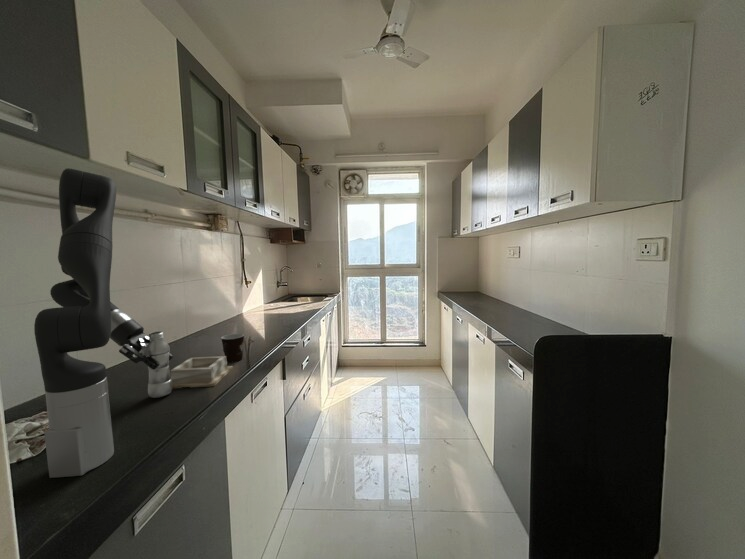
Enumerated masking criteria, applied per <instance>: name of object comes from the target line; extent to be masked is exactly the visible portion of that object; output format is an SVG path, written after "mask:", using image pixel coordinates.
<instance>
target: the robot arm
mask: <svg viewBox="0 0 745 559" xmlns="http://www.w3.org/2000/svg"><path fill="white" fill-rule="evenodd" d="M58 195H59V196H58V200H59V204H58V205H59V215H60V216H59V217H60V224H61V225H60V226H61V236H60V239H59V246H58V253H57V260H58V263H59V265H60V269H61V271H62V273H63V274H64V275H66V276H69V277H71V278H72V279H69V280H64V281H61V282H58V283H56V284H54V285H53V286H51V289H50V292H49V293H50V297H51V298H52V300H53V301H54V302H55V303H56V304H58V305H59V306H60V307H51V308H50V307H49V308H46V309H42V310H41V311H39V312H38V313H37V315H36V317H35V320H34V325H33V326H34V328H33V329H34V338H35V339H34V340H35V343H36V349H37V353H38V357H39V364H40V371H41V377H42V381H43V385H44V393H45V404H46V411H47V413H46V414H47V421H48V428H49V429H47V430H46V431H45V432H44V434H43V435H44V441H45V450H46V459H47V460H46V461H47V468H48V476H49V477H48V478H50V479H52V478H55V479H56V478H64V477H66V478H67V477H78V476H83V475H85V474H86V473H88V472H90V471H91V470H94V469H96V468H98V467H100V466H101V465H103V464H104V463H106V462H107V461H109V460H110V459H111V458H112V456H113V455H114V454H115V448H114V447H115V446H114V437H113V436H114V435H113V426H112V417H111V416H112V414H111V407H110V396H109V394H110V393H109V383H108V375H107V367H106V365H105V364H103V363H102V362H96V361H89V360H82V359H79V358H75V357H73V356H71V355H69V353H74V352H81V351H86V350H87V351H88V350H94V349H99V348H102V347H103V348H104V347H105V346H106V345H107V344H108V342H109V341H110V340H112V341H113V342H114V343H115V344H117V346H119V347H121V348H120V349H119V350H118V353H120V354H121V355H123V356H124V357H125V358H126V359H129V361H132V362H133V363H134V364H138V363H143V364H145V365H146V366H147V367H148V366H149V367H150V368H152V369H153V370H154V369H156V368H157V367H158V366H159V365H160V364H159V363H158V362H157V361H156V360H155V359H153V358H152V357H151V356H150V357H149V354H148V353H147V345H148V344H149V342H150V340H149V334H145V333H144V330H145V328H144V326H142V325H141V324H139V323H138V322H137V321H136V320H135V319H134V318H133V317H132V316H130V315H129V314H127V313H126V312H125V311H123V310H122V309H120V308H119V307H118V306H116V304H114V303H113V302H112V301H111V293H110V291H111V289H110V284H111V270H112V260H113V221H114V220H113V219H114V214H115V213H114V212H115V208H116V199H117V186H116V183H115V181H114V180H113V179H112V178H110V177H107V176H104V175H101V174H97V173H91V172H87V171H83V170H79V169H75V168H74V169H73V168H65V169H63V171H62V172H61V175H60V178H59V184H58ZM77 206H78V207H83V208H89V209H95V210H94V211H92V213H91V214H89V215H87V216H85V217H84V218H82V219H79V217H78V214H77ZM172 359H174V356H173V355H172V353H169V362H171V361H172Z"/></svg>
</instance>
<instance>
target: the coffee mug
mask: <svg viewBox="0 0 745 559" xmlns="http://www.w3.org/2000/svg"><path fill="white" fill-rule="evenodd" d="M220 338H221V339H220V340H221V343H222V350H223V353H224V356H226V358H227V363H237V362H240V361H242V360H243V358H244V355H243V354H244V342H245V341H244V339H245V334H243V333H231V334H226V335H223V336H221V337H220Z"/></svg>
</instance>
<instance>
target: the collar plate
mask: <svg viewBox="0 0 745 559" xmlns="http://www.w3.org/2000/svg"><path fill="white" fill-rule="evenodd" d="M233 369H234V366H233V365H228V362H227V358H226V356H225V355H220V356H219V355H217V356H198V357H195V356H194V357H189V358H188V359H186V360H185V361H183V362H182V363H180V364H179V365H177V366H174V368H172V369H171V370H170V376H171V379H172V383H173V388H172V389H183V388H182V387H190V388H207V387H215V386H217V385H218V383H219V382H220V381H221V380H223V379H224V378H225V377H226V376H227V374H229V373H230V372H231V371H232V370H233Z"/></svg>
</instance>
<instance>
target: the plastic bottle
mask: <svg viewBox="0 0 745 559" xmlns="http://www.w3.org/2000/svg"><path fill="white" fill-rule="evenodd" d="M148 336H149V340H150V342H149V344H148V345H147V353H148V354H149V357H150V356H151V357H152V358H153V359H155V360H156V361H157V362H158V363H159V364H160V365H159V366H158V367H157V368H156V369H154V370H153V369H152V368H150V367H149V366H147V370H148V384H147V394H148V396H149V397H150V398H153V399H156V398H157V399H158V398H163V397H166V396H168V395H170V394H171V392H173V389H174V388H173V383H172V379H171V373H170V371H171V370H170V361H169V353H170V352H171V348H170V345H169V344H168V343H167V341H166V340H165V339H164V337H165V336H164V332H163V331H152V332H150V333H148ZM170 354H171V353H170Z"/></svg>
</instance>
